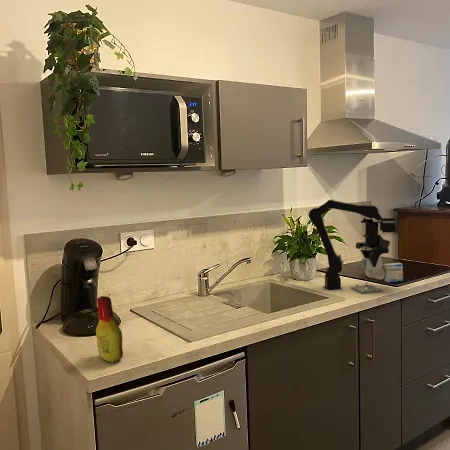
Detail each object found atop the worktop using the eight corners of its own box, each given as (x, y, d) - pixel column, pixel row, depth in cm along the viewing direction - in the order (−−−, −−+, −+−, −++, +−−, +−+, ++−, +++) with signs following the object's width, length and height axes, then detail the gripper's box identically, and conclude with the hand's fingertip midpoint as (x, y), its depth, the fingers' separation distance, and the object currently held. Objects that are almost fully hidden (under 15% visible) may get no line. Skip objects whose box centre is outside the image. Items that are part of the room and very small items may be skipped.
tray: (362, 293, 208) (362, 288, 208) (351, 289, 218) (351, 283, 218) (382, 291, 210) (382, 286, 210) (370, 286, 220) (370, 281, 220)
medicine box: (389, 282, 226) (388, 265, 225) (383, 281, 230) (383, 263, 229) (403, 281, 228) (403, 263, 227) (397, 279, 232) (397, 262, 231)
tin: (390, 281, 229) (389, 264, 228) (385, 282, 228) (385, 265, 227) (367, 276, 242) (367, 260, 242) (363, 277, 241) (362, 260, 240)
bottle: (92, 356, 149) (87, 295, 147) (111, 351, 153) (106, 291, 151) (108, 367, 139) (103, 301, 137) (128, 361, 143) (123, 297, 141)
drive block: (366, 269, 212) (366, 259, 211) (361, 268, 216) (361, 257, 215) (382, 268, 214) (382, 257, 213) (377, 266, 218) (377, 256, 217)
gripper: (399, 233, 206) (399, 268, 208) (376, 229, 224) (376, 261, 226) (377, 235, 203) (377, 270, 205) (355, 230, 221) (355, 263, 223)
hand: (371, 266), depth 215 cm, fingers closed on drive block, 4 cm apart
